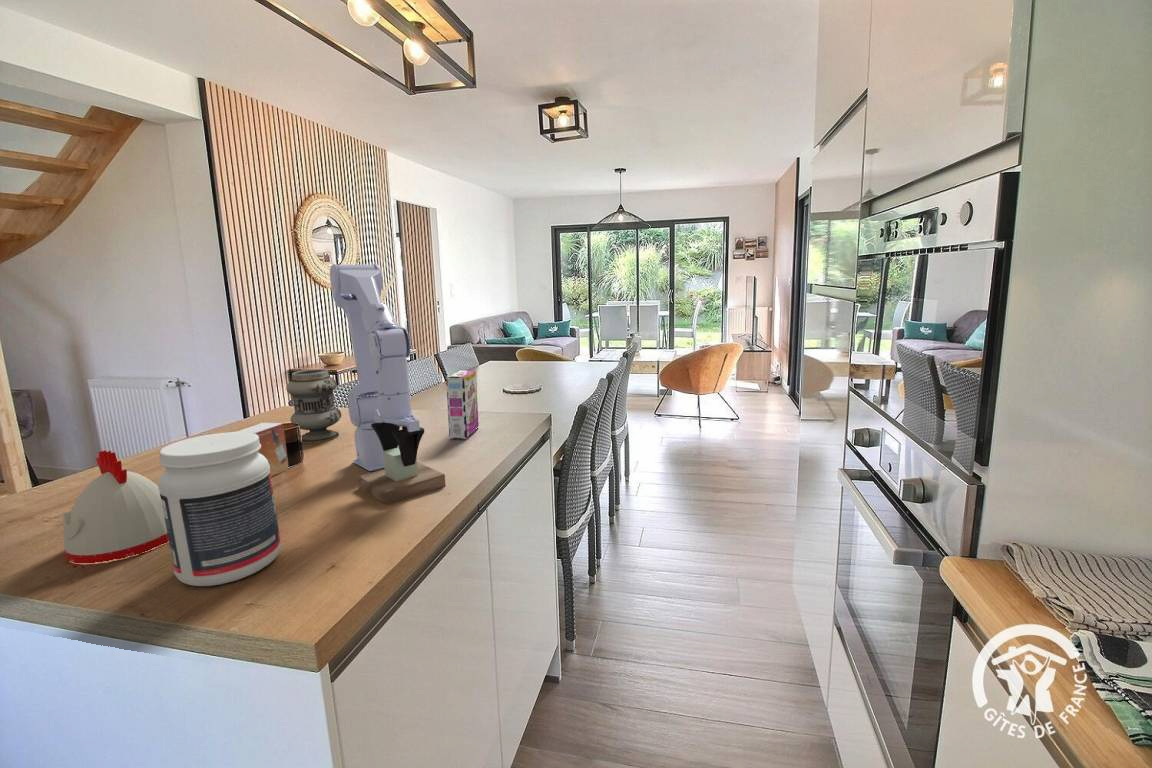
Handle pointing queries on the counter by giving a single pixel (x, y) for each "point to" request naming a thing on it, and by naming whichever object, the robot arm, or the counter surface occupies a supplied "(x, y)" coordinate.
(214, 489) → the supplement tub
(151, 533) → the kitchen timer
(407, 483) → the walnut slab
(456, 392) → the candy bar box
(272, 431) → the small box
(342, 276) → the robot arm
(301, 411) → the ornate stone vase
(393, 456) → the sage block
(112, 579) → the counter surface
